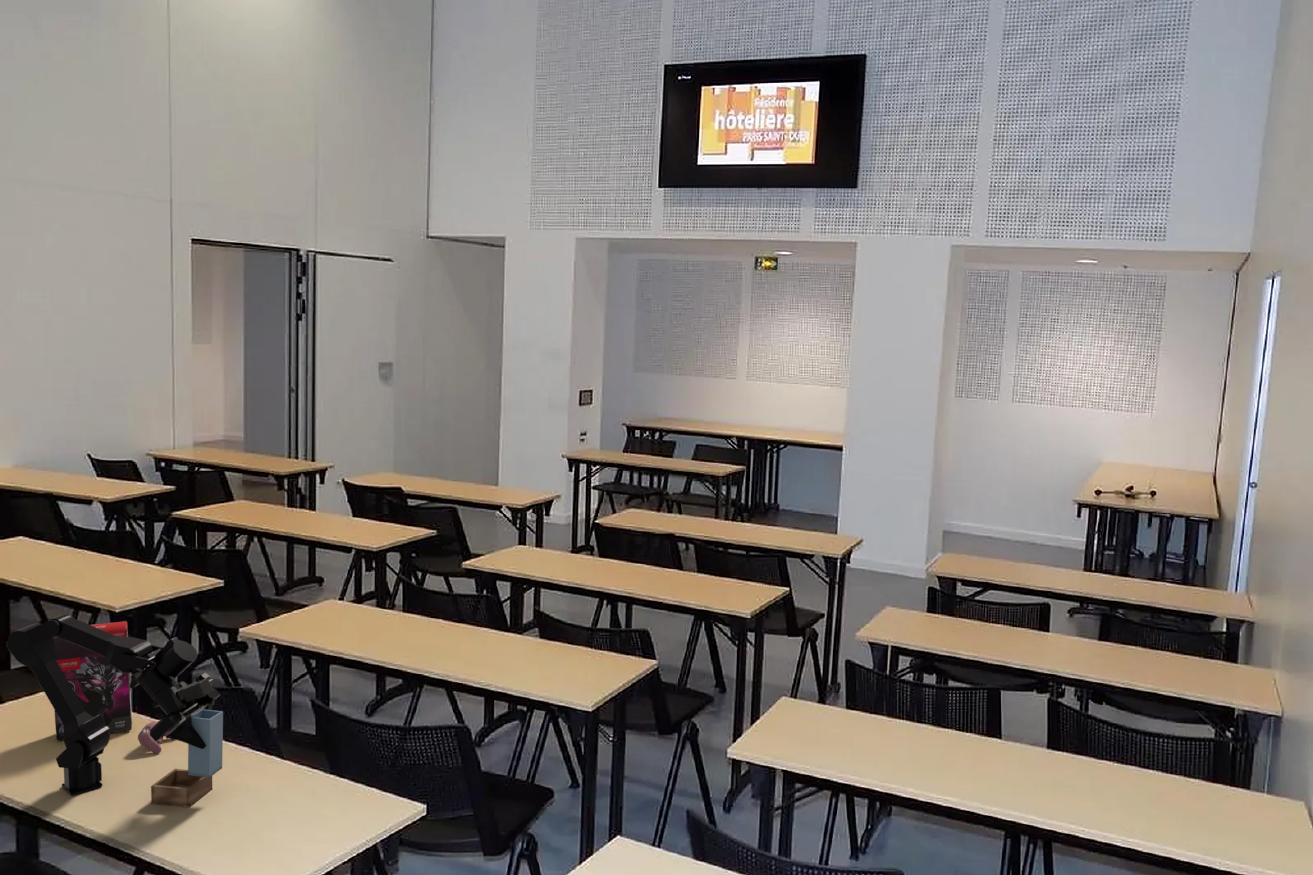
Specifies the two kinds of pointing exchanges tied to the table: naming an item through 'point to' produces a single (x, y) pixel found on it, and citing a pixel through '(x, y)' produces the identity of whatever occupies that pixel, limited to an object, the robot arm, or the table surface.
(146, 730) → the video game controller
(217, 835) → the table surface
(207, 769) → the tall slate-blue crate
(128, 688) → the graphics card box
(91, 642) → the robot arm
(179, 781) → the walnut crate
